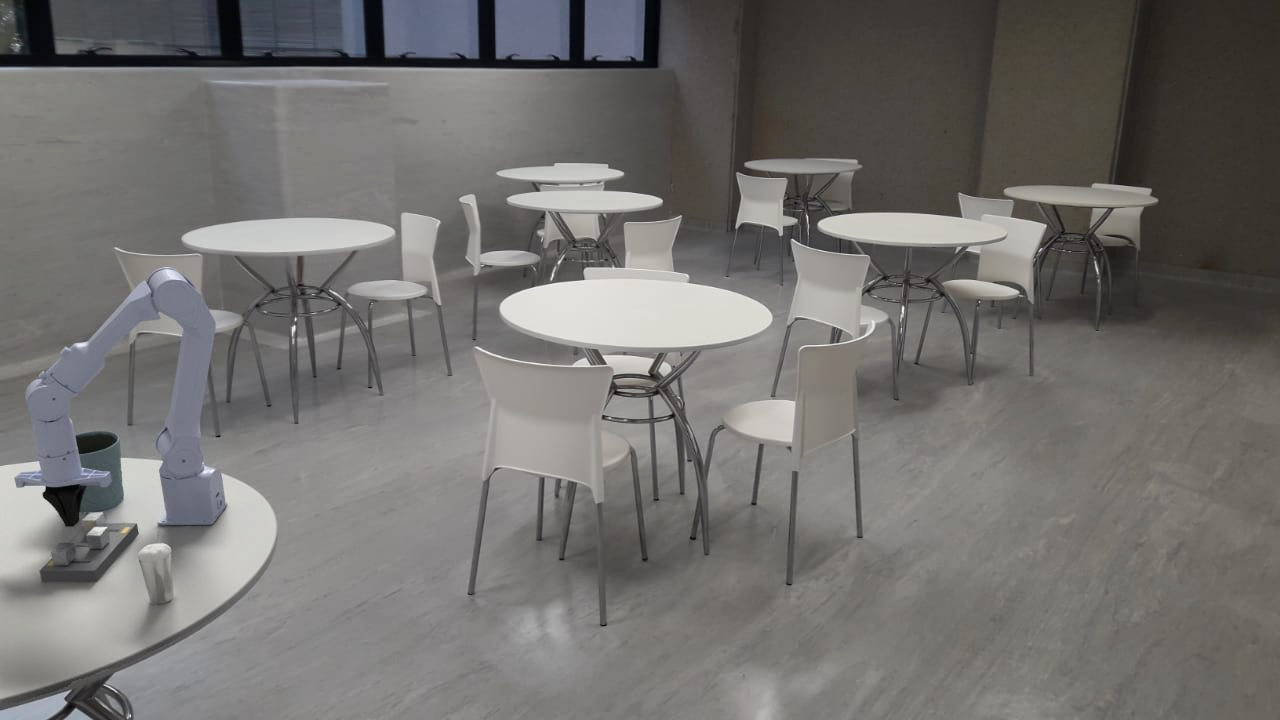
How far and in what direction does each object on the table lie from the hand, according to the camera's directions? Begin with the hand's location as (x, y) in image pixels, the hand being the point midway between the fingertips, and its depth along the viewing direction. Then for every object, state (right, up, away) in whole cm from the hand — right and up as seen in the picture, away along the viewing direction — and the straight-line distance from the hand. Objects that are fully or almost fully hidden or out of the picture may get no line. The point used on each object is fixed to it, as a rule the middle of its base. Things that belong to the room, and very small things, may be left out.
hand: (72, 523), depth 167 cm
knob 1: (+4, -5, -9) cm, 11 cm away
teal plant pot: (-3, +2, +14) cm, 15 cm away
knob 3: (+7, -3, -4) cm, 8 cm away
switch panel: (+5, -5, -3) cm, 8 cm away
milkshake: (+22, -9, -14) cm, 28 cm away
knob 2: (+4, -1, +1) cm, 4 cm away
